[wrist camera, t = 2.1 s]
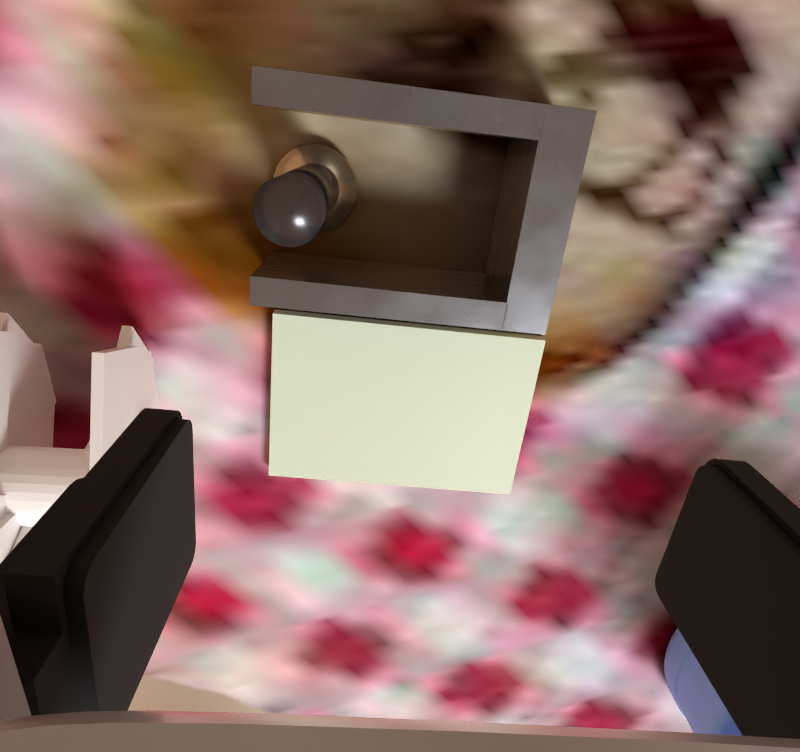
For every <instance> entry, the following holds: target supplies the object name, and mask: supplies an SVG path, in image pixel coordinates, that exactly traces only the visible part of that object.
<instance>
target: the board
mask: <svg viewBox="0 0 800 752" xmlns="http://www.w3.org/2000/svg"><path fill="white" fill-rule="evenodd" d="M545 341H546V340H545V339H544V338H543V337H542V336H536V335H526V334H516V333H506V332H496V331H486V330H476V329H466V328H456V327H447V326H437V325H427V324H417V323H407V322H397V321H387V320H377V319H367V318H357V317H347V316H337V315H327V314H317V313H307V312H297V311H287V310H277V309H275V310H274V312H273V322H272V363H271V403H270V443H269V475H270V476H283V477H296V478H308V479H321V480H334V481H346V482H359V483H372V484H384V485H397V486H410V487H422V488H435V489H448V490H460V491H473V492H486V493H499V494H510V492H511V488H512V484H513V479H514V475H515V471H516V466H517V462H518V458H519V454H520V449H521V445H522V441H523V436H524V432H525V428H526V423H527V419H528V415H529V410H530V406H531V402H532V397H533V393H534V389H535V385H536V380H537V376H538V372H539V367H540V363H541V359H542V354H543V350H544V346H545Z"/></svg>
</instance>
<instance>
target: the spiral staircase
mask: <svg viewBox="0 0 800 752" xmlns="http://www.w3.org/2000/svg"><path fill="white" fill-rule="evenodd" d="M153 365H154V359H153V358H152V356H151V351H150V349H147V348H146V347H145V345H144V344H143V342H142V341H141V339H140V337H139V336H138V334H137V333H136V331H135V330H134V328H133V326H123V325H122V327H121V331H120V335H119V339H118V343H117V347H116V348H112V349H106V350H101V351H95V352H92V367H91V417H90V441H89V442H88V444H87V446H86V448H85V449H72V448H53V432H54V413H55V404H56V398H55V394H54V390H53V386H52V382H51V378H50V374H49V370H48V366H47V362H46V358H45V354H44V350H43V346H42V344H38V343H33V342H32V340H31V339H30V338H29V337H28V336H27V335H26V333H25V332H24V331H23V330H22V329H21V328H20V326H19V325H18V324H17V323H16V322H15V321H14V319H13V318H12V317H11V316H10V315H9V314H8V313H4V312H0V563H1V562H2V561H3V560H4V559H5V558H6V557H7V555H8V554H9V553H10V552H11V551H12V550H13V549H14V548H15V546H16V545H17V544H18V543H19V542H20V541H21V540H22V538H23V537H24V536H25V535H26V534H27V533H28V532H29V531H30V529H31V528H32V527H33V526H34V525H35V524H36V523H37V521H38V520H39V519H40V518H41V517H42V516H43V515H44V514H45V512H46V511H47V510H48V509H49V508H50V507H51V506H52V505H53V503H54V502H55V501H56V500H57V499H58V498H59V497H60V495H61V494H62V493H63V492H64V491H65V490H66V489H67V488H68V486H69V485H70V484H71V483H73V482H74V481H75V480H76V479H80V478H84V477H85V476H86V474H87V473H88V472H89V471H90V470H91V469H92V467H93V466H94V465H95V464H96V463H97V462H98V461H99V459H100V458H101V457H102V456H103V455H104V454H105V452H106V451H107V450H108V449H109V448H110V447H111V445H112V444H113V443H114V442H115V441H116V440H117V438H118V437H119V436H120V435H121V434H122V433H123V432H124V430H125V429H126V428H127V427H128V426H129V425H130V423H131V422H132V421H133V420H134V419H135V418H136V416H137V415H138V414H139V413H140V412H141V411H142V410H143V409H144V408H152V409H157V408H158V406H159V398H158V392H157V386H156V380H155V374H154V369H153Z"/></svg>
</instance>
